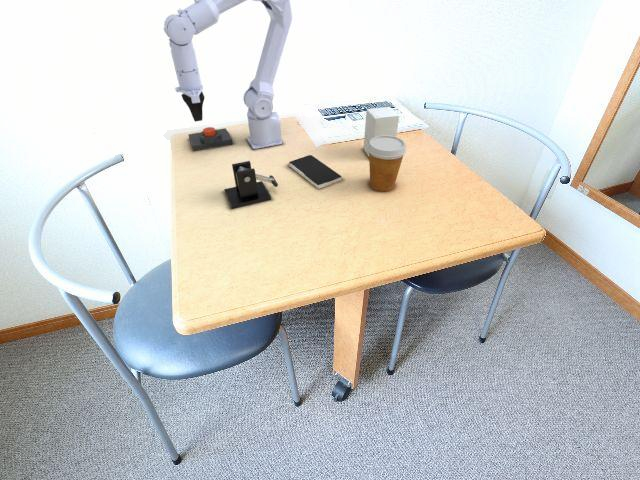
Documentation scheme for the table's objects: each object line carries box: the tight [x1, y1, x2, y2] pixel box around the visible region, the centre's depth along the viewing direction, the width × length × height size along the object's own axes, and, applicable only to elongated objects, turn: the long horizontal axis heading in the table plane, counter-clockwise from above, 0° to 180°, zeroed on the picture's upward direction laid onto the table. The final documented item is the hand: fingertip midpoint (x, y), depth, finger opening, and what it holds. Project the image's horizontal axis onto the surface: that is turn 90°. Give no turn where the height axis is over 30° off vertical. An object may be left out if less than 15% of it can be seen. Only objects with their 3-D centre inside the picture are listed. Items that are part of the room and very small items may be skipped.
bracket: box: [223, 160, 272, 210], centre depth 91 cm, size 10×8×8 cm
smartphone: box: [288, 154, 342, 189], centre depth 102 cm, size 8×1×15 cm
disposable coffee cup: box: [367, 135, 407, 192], centre depth 93 cm, size 10×10×12 cm
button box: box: [187, 127, 233, 152], centre depth 115 cm, size 12×10×4 cm
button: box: [202, 126, 216, 137], centre depth 113 cm, size 4×4×2 cm
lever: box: [237, 166, 279, 188], centre depth 91 cm, size 10×4×2 cm, turn 113°
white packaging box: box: [363, 106, 400, 157], centre depth 106 cm, size 7×7×13 cm
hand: (198, 120), depth 104 cm, fingers closed
